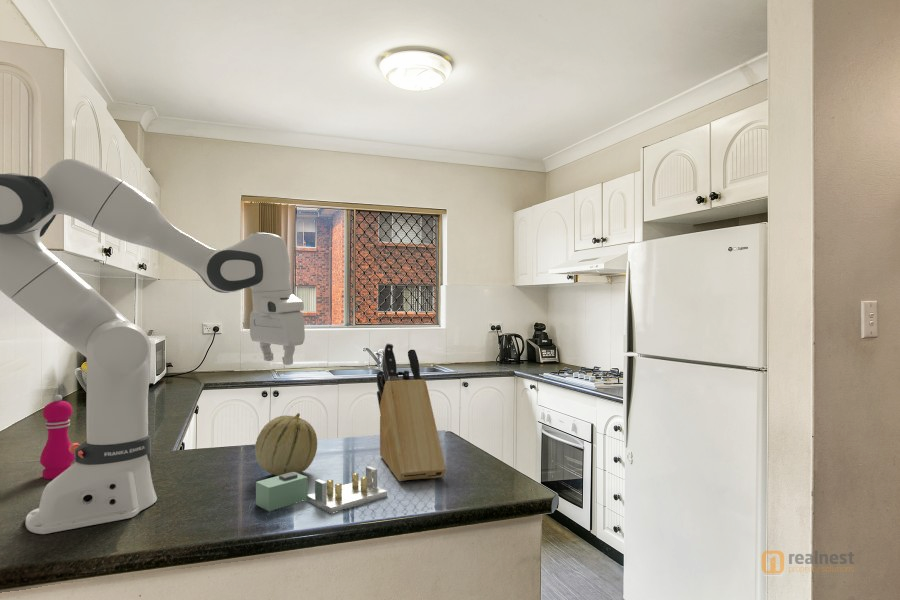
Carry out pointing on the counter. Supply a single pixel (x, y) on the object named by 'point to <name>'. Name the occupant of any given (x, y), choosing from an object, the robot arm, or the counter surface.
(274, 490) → the green box
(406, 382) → the knife block
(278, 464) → the cantaloupe
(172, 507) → the counter surface
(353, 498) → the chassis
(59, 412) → the pepper mill
